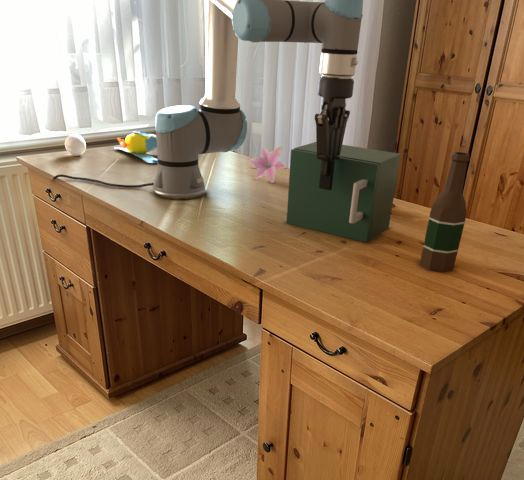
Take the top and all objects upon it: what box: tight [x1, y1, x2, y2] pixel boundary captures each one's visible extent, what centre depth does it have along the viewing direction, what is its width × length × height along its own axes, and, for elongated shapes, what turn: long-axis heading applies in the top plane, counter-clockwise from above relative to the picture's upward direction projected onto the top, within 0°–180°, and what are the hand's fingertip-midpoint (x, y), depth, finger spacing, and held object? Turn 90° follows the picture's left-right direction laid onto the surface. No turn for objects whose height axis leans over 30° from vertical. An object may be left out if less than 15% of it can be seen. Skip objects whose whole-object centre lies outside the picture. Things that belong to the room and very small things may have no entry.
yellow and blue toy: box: [113, 131, 158, 165], centre depth 199 cm, size 28×9×15 cm
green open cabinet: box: [293, 141, 402, 243], centre depth 137 cm, size 13×23×19 cm, turn 57°
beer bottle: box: [419, 151, 470, 273], centre depth 114 cm, size 8×8×24 cm
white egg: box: [64, 133, 87, 157], centre depth 194 cm, size 10×7×7 cm
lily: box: [247, 146, 287, 184], centre depth 178 cm, size 12×12×10 cm
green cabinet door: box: [286, 148, 379, 243], centre depth 129 cm, size 6×23×18 cm, turn 57°
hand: (325, 188), depth 127 cm, fingers closed
